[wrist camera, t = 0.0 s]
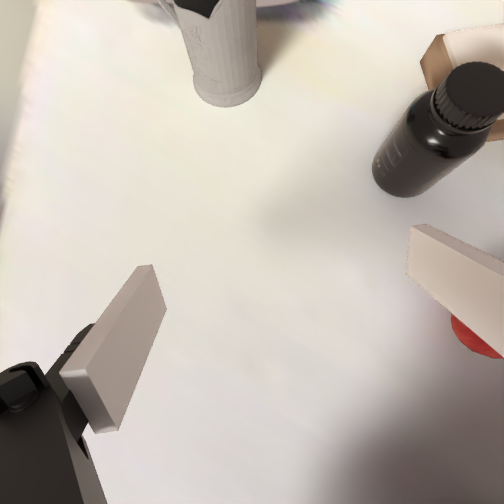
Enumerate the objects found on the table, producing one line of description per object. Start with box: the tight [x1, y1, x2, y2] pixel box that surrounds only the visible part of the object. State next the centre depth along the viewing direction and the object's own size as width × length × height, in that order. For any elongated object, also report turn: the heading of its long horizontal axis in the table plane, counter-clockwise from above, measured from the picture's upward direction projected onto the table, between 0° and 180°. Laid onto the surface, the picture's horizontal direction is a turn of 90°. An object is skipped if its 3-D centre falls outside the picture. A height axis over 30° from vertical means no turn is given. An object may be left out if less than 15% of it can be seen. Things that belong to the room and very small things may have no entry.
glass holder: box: [157, 0, 262, 107], centre depth 28 cm, size 9×14×15 cm, turn 57°
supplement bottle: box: [372, 61, 504, 198], centre depth 25 cm, size 7×7×12 cm
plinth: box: [420, 24, 504, 142], centre depth 31 cm, size 12×12×4 cm
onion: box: [451, 314, 504, 358], centre depth 24 cm, size 6×6×8 cm
